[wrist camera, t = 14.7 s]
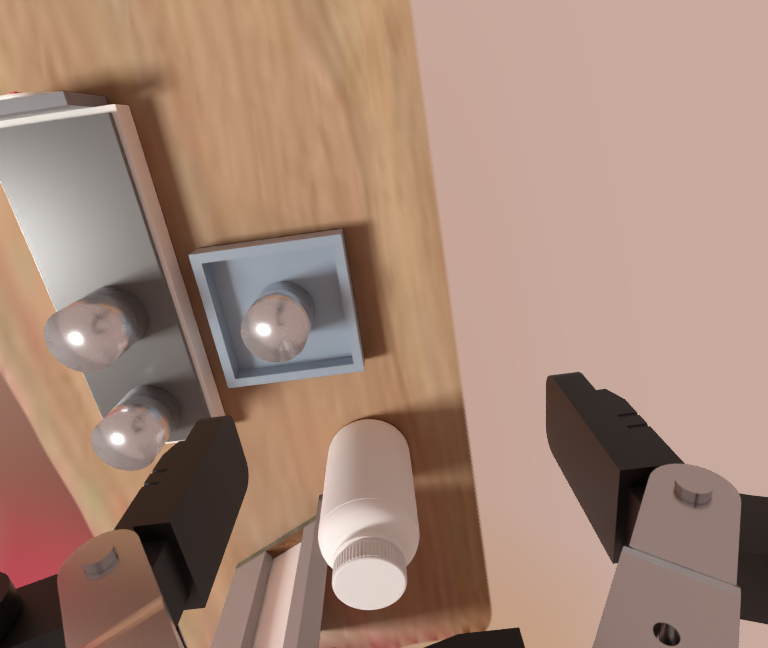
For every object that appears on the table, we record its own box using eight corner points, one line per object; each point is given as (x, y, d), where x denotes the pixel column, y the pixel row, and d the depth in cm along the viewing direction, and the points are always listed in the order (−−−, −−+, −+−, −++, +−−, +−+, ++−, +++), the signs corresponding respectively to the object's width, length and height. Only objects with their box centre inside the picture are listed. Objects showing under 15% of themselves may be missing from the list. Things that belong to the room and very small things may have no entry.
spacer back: (114, 389, 40) (81, 422, 36) (170, 381, 40) (144, 413, 36) (134, 437, 42) (105, 474, 38) (188, 429, 42) (165, 466, 38)
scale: (-11, 106, 34) (-71, 102, 30) (122, 86, 34) (83, 79, 29) (126, 436, 45) (98, 471, 41) (228, 424, 45) (211, 457, 40)
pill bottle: (423, 462, 47) (444, 600, 33) (354, 493, 48) (346, 638, 35) (386, 403, 44) (391, 526, 31) (313, 437, 46) (287, 570, 32)
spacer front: (249, 285, 39) (233, 306, 34) (308, 277, 39) (300, 297, 34) (263, 339, 41) (249, 366, 36) (320, 332, 41) (313, 358, 36)
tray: (198, 248, 38) (188, 255, 36) (342, 228, 38) (341, 234, 36) (235, 376, 43) (228, 388, 41) (364, 359, 43) (364, 371, 41)
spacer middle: (74, 290, 37) (32, 313, 32) (136, 282, 37) (102, 303, 32) (98, 347, 39) (60, 376, 34) (156, 339, 39) (127, 367, 34)
